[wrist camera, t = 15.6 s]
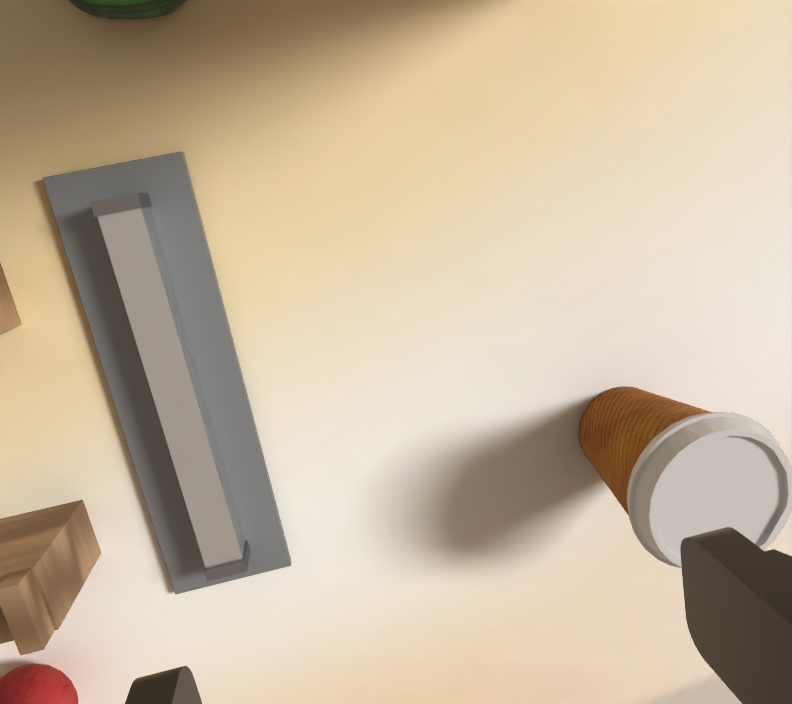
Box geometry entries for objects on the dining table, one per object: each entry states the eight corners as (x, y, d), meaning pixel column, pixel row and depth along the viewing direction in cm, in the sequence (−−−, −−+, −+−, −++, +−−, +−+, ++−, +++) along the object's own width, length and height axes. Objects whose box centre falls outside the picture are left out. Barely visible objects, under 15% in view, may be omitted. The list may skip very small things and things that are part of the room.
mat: (46, 178, 38) (42, 178, 38) (183, 152, 39) (181, 151, 38) (177, 589, 45) (175, 594, 45) (291, 561, 46) (290, 565, 45)
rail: (103, 202, 38) (89, 202, 36) (148, 193, 38) (137, 192, 36) (212, 559, 44) (207, 581, 42) (250, 550, 45) (247, 571, 42)
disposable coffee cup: (599, 513, 49) (692, 612, 37) (532, 418, 46) (609, 492, 34) (703, 436, 48) (829, 512, 37) (641, 337, 46) (756, 385, 34)
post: (-12, 521, 42) (-99, 613, 33) (82, 500, 43) (22, 583, 34) (9, 575, 43) (-70, 678, 34) (101, 553, 44) (47, 648, 35)
